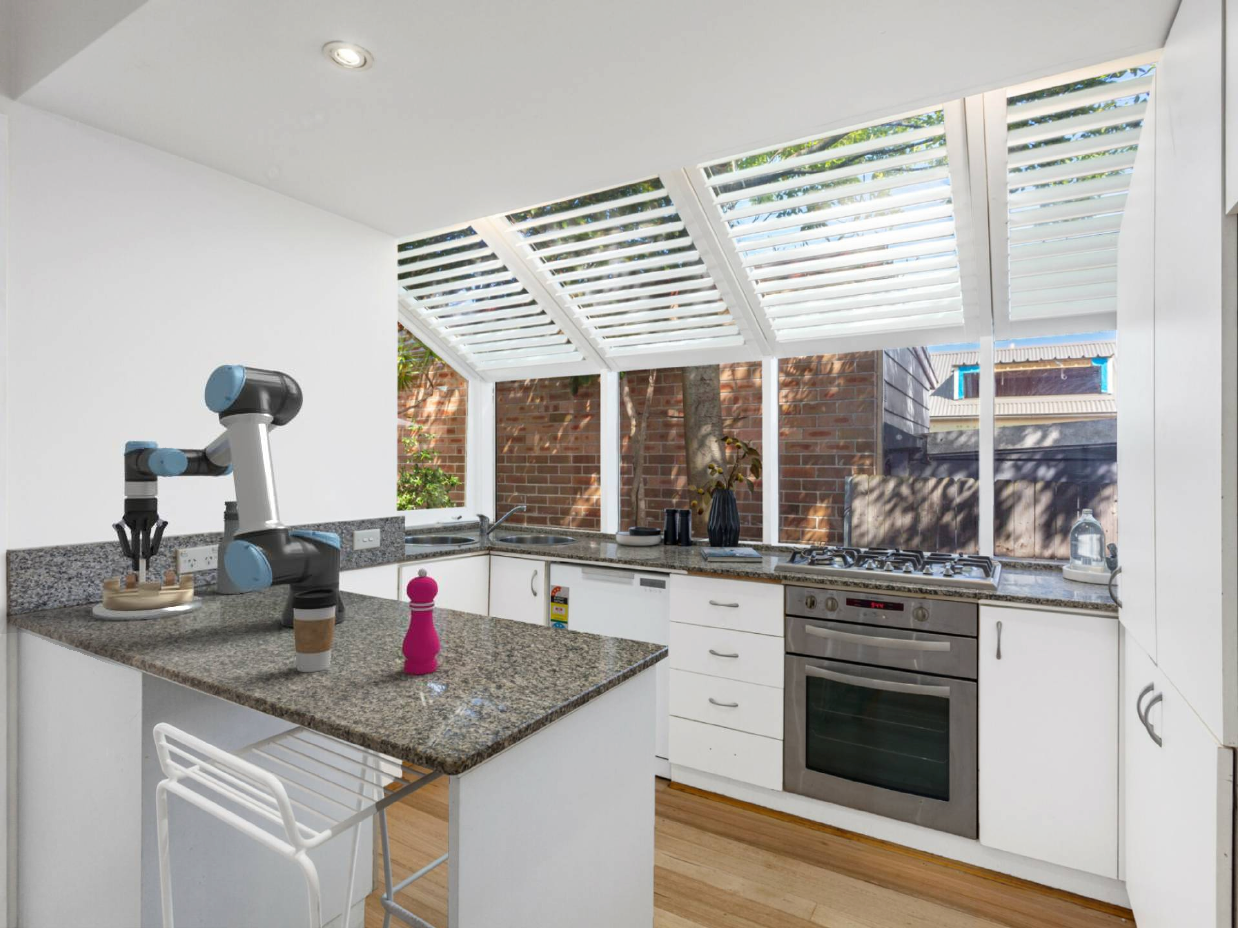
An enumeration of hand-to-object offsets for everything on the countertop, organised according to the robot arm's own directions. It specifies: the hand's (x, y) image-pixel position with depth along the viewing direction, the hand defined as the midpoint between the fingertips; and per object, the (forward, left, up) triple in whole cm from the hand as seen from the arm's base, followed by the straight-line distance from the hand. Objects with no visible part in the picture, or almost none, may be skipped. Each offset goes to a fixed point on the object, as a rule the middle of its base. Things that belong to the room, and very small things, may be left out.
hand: (140, 582), depth 187 cm
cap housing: (-8, -1, -7) cm, 10 cm away
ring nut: (-8, -1, -4) cm, 9 cm away
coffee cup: (-88, -14, -7) cm, 89 cm away
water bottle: (+7, -26, -7) cm, 27 cm away
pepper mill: (-103, -29, -7) cm, 107 cm away
